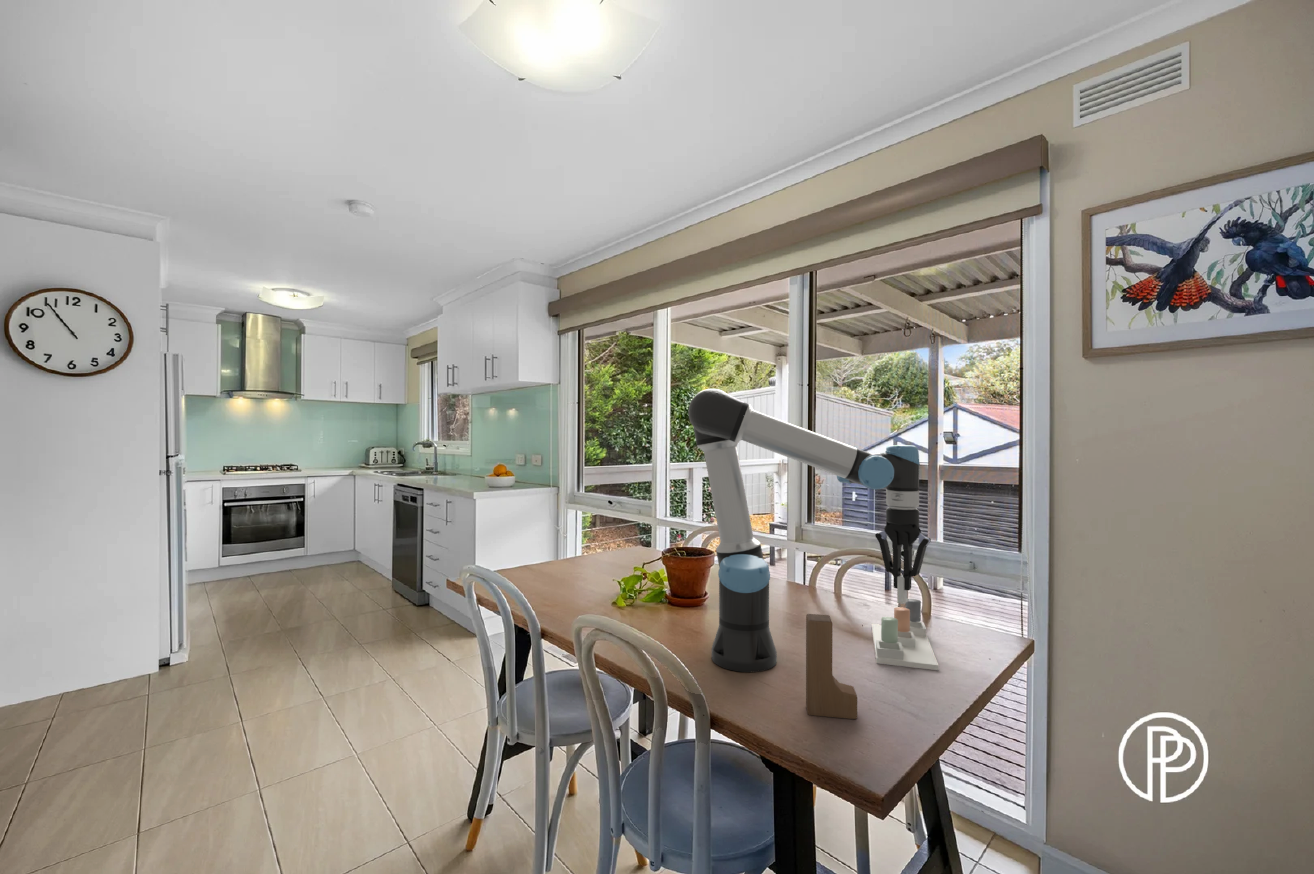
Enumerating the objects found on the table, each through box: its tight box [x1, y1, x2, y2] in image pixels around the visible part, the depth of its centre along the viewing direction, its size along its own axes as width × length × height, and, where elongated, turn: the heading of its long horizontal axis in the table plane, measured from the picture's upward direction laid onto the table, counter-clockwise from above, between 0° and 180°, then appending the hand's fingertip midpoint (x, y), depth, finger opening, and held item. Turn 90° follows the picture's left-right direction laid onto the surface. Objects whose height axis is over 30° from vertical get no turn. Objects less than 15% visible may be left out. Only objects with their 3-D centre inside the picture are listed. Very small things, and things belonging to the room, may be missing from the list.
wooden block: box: [805, 613, 858, 720], centre depth 109 cm, size 9×4×18 cm, turn 80°
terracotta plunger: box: [893, 606, 910, 632], centre depth 142 cm, size 4×4×5 cm
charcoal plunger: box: [905, 598, 922, 622], centre depth 149 cm, size 4×4×5 cm
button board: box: [871, 621, 940, 671], centre depth 142 cm, size 13×25×3 cm, turn 162°
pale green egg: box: [880, 616, 898, 643], centre depth 134 cm, size 4×4×5 cm
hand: (902, 602), depth 142 cm, fingers closed
